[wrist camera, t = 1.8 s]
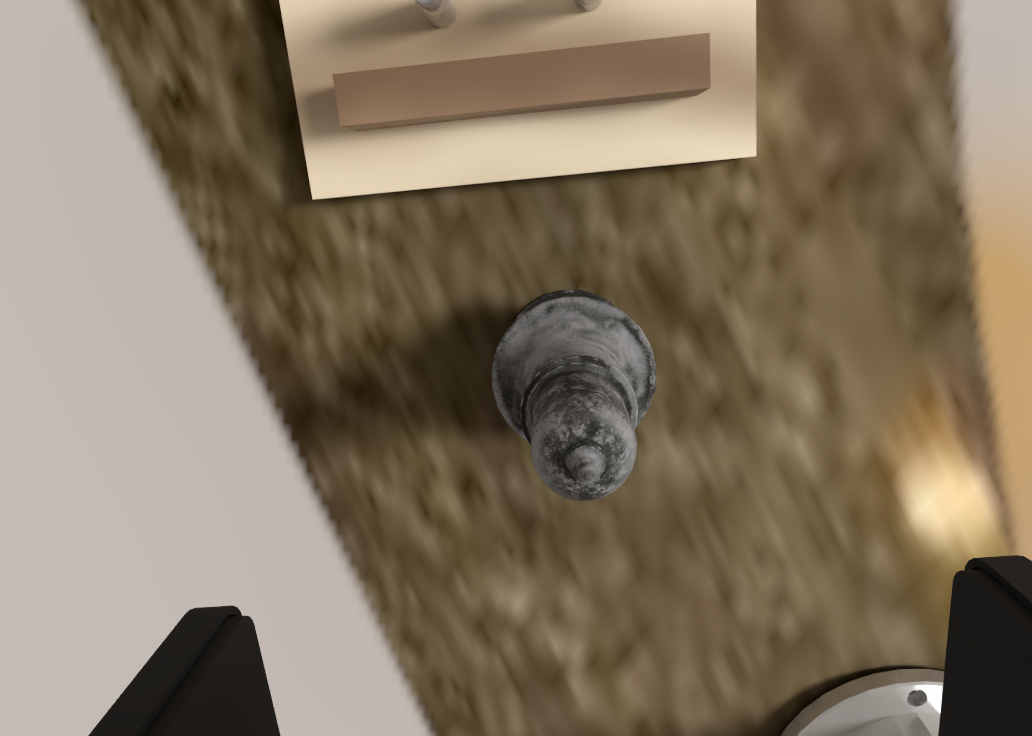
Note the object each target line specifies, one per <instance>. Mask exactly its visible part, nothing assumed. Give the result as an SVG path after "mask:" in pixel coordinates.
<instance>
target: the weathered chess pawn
mask: <svg viewBox="0 0 1032 736" xmlns="http://www.w3.org/2000/svg"><path fill="white" fill-rule="evenodd" d="M492 389H493V393H494V396H495V399H496V403H497V406H498V409H499V410H500V412H501V414H502V415H503V417H504V418H505V420H506V422H507V423H508V425H509V426H510V427H511V428H512V429H513V430H514V431H515V432H517V433H518V434H519V435H520V436H521V437H522V438H523V439H524V440H526V441H528V442H529V444H530V446H531V457H532V460H533V464H534V467H535V469H536V471H537V473H538V474H539V476H540V478H541V479H542V481H543V482H544V483H545V484H546V485H547V486H548V487H549V488H550V489H551V490H552V491H554V492H555V493H557V494H559V495H561V496H563V497H565V498H569V499H573V500H594V499H598V498H602V497H604V496H606V495H608V494H610V493H612V492H614V491H615V490H616V489H617V488H618V487H620V486H621V485H622V484H623V483H624V482H625V480H626V479H627V477H628V476H629V474H630V473H631V471H632V468H633V465H634V462H635V458H636V450H637V440H636V436H635V432H634V430H635V428H636V427H637V426H638V425H639V423H640V421H641V420H642V418H643V417H644V415H645V414H646V412H647V411H648V409H649V407H650V404H651V401H652V398H653V395H654V392H655V389H656V364H655V360H654V355H653V351H652V347H651V345H650V344H649V342H648V340H647V338H646V336H645V335H644V333H643V331H642V329H641V328H640V327H639V326H638V325H637V324H636V323H635V322H634V321H633V320H632V319H631V318H630V317H629V316H628V315H627V314H626V313H625V312H623V311H621V310H619V309H618V308H616V307H615V306H614V305H613V304H612V303H611V302H609V301H607V300H605V299H604V298H602V297H600V296H598V295H597V294H593V293H589V292H586V291H582V290H560V291H556V292H553V293H549V294H545V295H544V296H542V297H540V298H538V299H537V300H535V301H533V302H531V303H530V304H529V305H528V306H527V307H526V308H525V309H524V310H523V311H522V312H521V313H520V314H519V315H518V316H517V318H516V320H515V322H514V323H513V324H512V325H511V326H510V327H509V328H508V329H507V331H506V332H505V334H504V336H503V338H502V339H501V341H500V343H499V345H498V346H497V349H496V353H495V357H494V361H493V365H492Z"/></svg>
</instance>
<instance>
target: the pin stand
mask: <svg viewBox="0 0 1032 736" xmlns="http://www.w3.org/2000/svg"><path fill="white" fill-rule="evenodd" d="M279 2H280V8H281V14H282V20H283V26H284V32H285V38H286V44H287V50H288V56H289V62H290V68H291V74H292V80H293V86H294V92H295V98H296V104H297V110H298V116H299V122H300V128H301V134H302V140H303V146H304V152H305V158H306V164H307V170H308V176H309V182H310V188H311V194H312V200H314V199H327V198H337V197H347V196H357V195H368V194H378V193H388V192H398V191H409V190H419V189H429V188H439V187H450V186H460V185H470V184H480V183H491V182H501V181H511V180H521V179H531V178H542V177H552V176H562V175H572V174H583V173H593V172H603V171H613V170H624V169H634V168H644V167H654V166H665V165H675V164H685V163H695V162H706V161H716V160H726V159H736V158H746V157H754V156H756V0H279Z"/></svg>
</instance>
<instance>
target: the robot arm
mask: <svg viewBox="0 0 1032 736" xmlns="http://www.w3.org/2000/svg"><path fill="white" fill-rule="evenodd" d="M89 736H280V733H279V728H278V724H277V720H276V715H275V711H274V707H273V702H272V698H271V694H270V690H269V685H268V681H267V677H266V673H265V668H264V664H263V660H262V656H261V652H260V647H259V643H258V639H257V634H256V630H255V626H254V623H253V620H252V619H251V618H250V617H249V616H242V614H241V612H240V610H239V609H238V608H237V607H235V606H220V607H204V608H194V609H191V610H189V611H188V612H187V613H186V614H185V615H184V616H183V618H182V619H181V620H180V621H179V623H178V624H177V625H176V626H175V628H174V629H173V630H172V631H171V633H170V634H169V635H168V636H167V638H166V639H165V640H164V641H163V643H162V644H161V645H160V646H159V648H158V649H157V650H156V651H155V653H154V654H153V655H152V656H151V658H150V659H149V660H148V662H147V663H146V664H145V665H144V666H143V668H142V669H141V670H140V672H139V673H138V674H137V675H136V677H135V678H134V679H133V680H132V682H131V683H130V684H129V685H128V687H127V688H126V689H125V690H124V692H123V693H122V694H121V695H120V697H119V698H118V699H117V700H116V702H115V703H114V704H113V705H112V707H111V708H110V709H109V710H108V712H107V713H106V714H105V715H104V717H103V718H102V719H101V721H100V722H99V723H98V724H97V725H96V727H95V728H94V729H93V731H92V732H91V733H90V734H89ZM781 736H1032V561H1031V560H1029V559H1027V558H1026V557H1024V556H1017V555H1015V556H1000V557H984V558H973V559H971V560H969V561H968V563H967V564H966V566H965V570H964V571H959V572H957V573H956V574H955V576H954V579H953V586H952V597H951V607H950V617H949V628H948V638H947V649H946V659H945V670H944V671H938V670H932V669H899V670H893V671H887V672H881V673H875V674H871V675H868V676H865V677H862V678H859V679H856V680H853V681H850V682H847V683H845V684H843V685H841V686H839V687H837V688H835V689H833V690H831V691H829V692H827V693H825V694H823V695H822V696H821V697H819V698H818V699H817V700H815V701H814V702H813V703H811V704H810V705H808V706H807V707H806V708H804V709H803V710H802V711H801V712H800V713H799V714H798V715H797V716H796V717H795V719H794V720H793V721H792V722H791V723H790V724H789V725H788V726H787V727H786V728H785V730H784V732H783V733H782V735H781Z"/></svg>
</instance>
